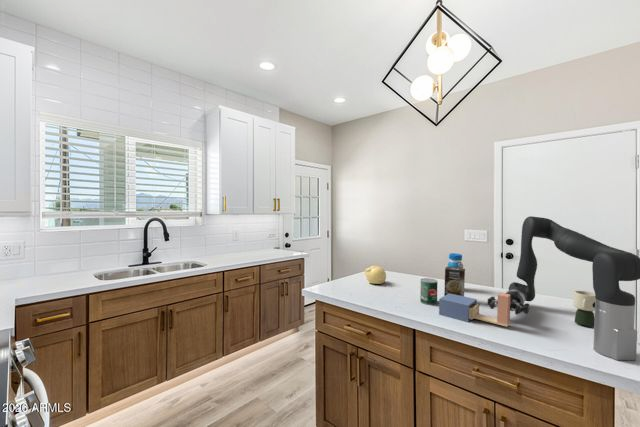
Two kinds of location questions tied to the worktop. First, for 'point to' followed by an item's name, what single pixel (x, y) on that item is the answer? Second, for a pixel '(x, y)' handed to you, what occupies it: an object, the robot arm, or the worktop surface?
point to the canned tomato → (428, 291)
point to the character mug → (584, 307)
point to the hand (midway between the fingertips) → (503, 309)
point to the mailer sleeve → (456, 306)
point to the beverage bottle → (455, 260)
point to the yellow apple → (375, 275)
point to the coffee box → (454, 281)
